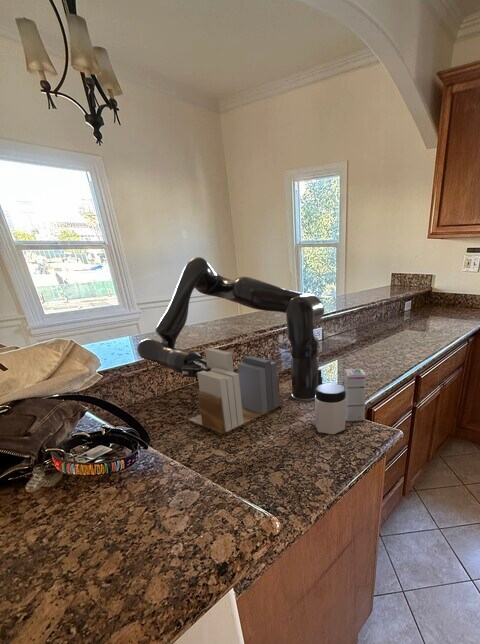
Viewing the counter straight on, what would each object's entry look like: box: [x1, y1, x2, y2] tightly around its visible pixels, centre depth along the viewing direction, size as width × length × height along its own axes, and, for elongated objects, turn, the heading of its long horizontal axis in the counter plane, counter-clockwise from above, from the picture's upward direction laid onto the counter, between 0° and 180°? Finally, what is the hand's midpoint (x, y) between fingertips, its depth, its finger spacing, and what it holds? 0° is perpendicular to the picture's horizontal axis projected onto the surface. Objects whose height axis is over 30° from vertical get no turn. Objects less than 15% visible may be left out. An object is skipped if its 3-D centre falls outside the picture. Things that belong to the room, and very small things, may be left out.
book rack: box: [188, 374, 282, 435], centre depth 106 cm, size 24×15×11 cm, turn 145°
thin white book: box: [204, 347, 235, 373], centre depth 102 cm, size 2×9×15 cm, turn 55°
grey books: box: [236, 355, 280, 415], centre depth 108 cm, size 7×9×16 cm
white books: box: [197, 368, 244, 433], centre depth 97 cm, size 6×9×15 cm
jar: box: [314, 382, 346, 435], centre depth 98 cm, size 9×8×12 cm
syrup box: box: [343, 368, 367, 422], centre depth 104 cm, size 6×6×14 cm
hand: (221, 373), depth 101 cm, fingers closed on thin white book, 2 cm apart
